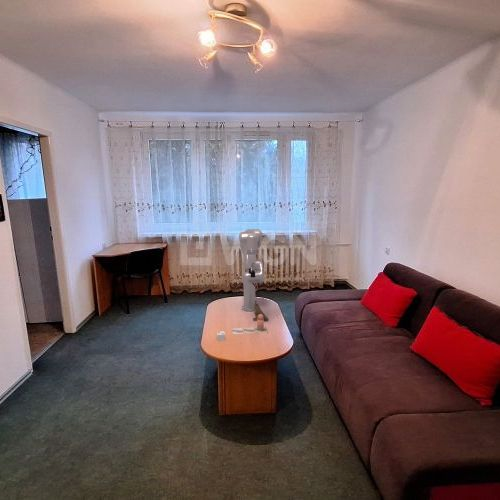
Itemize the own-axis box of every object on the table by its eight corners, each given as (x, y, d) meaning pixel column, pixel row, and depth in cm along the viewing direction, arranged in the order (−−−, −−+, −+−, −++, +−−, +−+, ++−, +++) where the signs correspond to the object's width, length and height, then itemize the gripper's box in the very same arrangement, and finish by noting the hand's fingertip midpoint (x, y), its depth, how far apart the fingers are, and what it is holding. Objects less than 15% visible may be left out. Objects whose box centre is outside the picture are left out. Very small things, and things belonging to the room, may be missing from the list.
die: (217, 338, 213) (216, 331, 212) (224, 338, 214) (224, 331, 213) (217, 342, 209) (217, 335, 208) (225, 341, 209) (224, 334, 208)
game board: (230, 329, 227) (230, 328, 227) (265, 326, 231) (265, 325, 231) (231, 336, 217) (231, 335, 216) (268, 333, 220) (268, 332, 220)
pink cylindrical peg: (257, 328, 226) (257, 313, 224) (263, 328, 227) (263, 312, 224) (257, 331, 222) (257, 315, 220) (263, 331, 222) (264, 315, 220)
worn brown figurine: (253, 325, 239) (248, 303, 235) (253, 322, 244) (248, 300, 240) (269, 321, 240) (264, 299, 235) (268, 318, 245) (263, 297, 241)
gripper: (245, 249, 235) (245, 272, 238) (248, 254, 218) (248, 279, 222) (255, 249, 236) (255, 272, 239) (259, 254, 219) (259, 278, 223)
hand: (251, 275), depth 231 cm, fingers open, 9 cm apart
